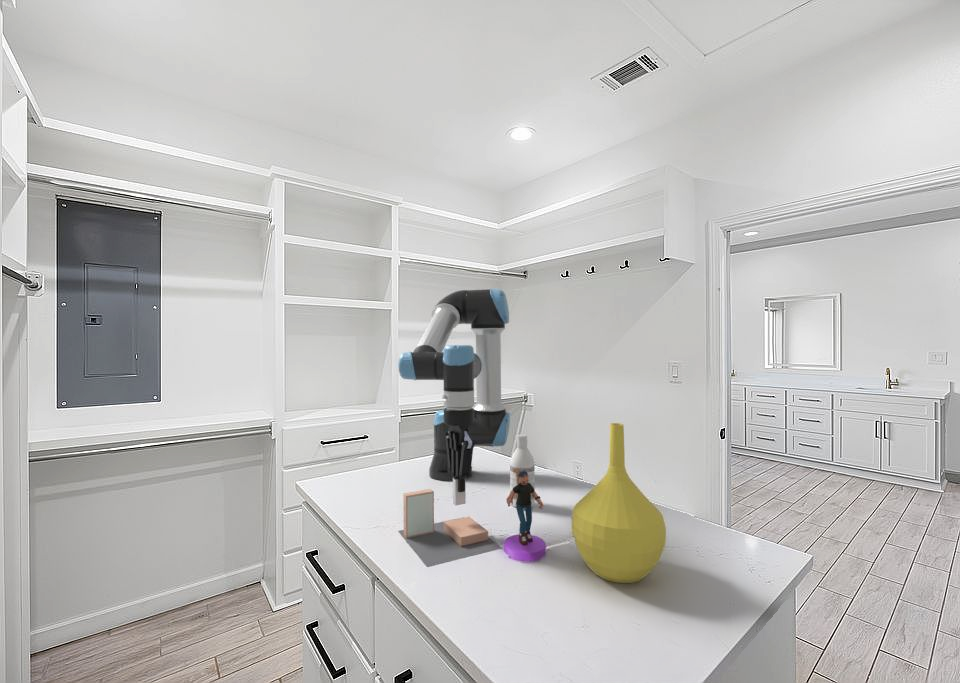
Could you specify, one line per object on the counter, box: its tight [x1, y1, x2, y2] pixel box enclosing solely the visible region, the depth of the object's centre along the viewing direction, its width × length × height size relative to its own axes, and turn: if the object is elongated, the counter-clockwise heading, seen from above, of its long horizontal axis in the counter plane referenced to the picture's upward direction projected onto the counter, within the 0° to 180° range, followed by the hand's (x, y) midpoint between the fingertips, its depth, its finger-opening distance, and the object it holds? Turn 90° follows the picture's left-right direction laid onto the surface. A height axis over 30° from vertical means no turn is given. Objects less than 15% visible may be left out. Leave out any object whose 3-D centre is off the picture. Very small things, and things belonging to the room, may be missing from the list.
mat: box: [397, 516, 503, 568], centre depth 105 cm, size 18×20×1 cm
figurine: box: [503, 471, 547, 563], centre depth 100 cm, size 9×9×18 cm
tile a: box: [443, 516, 489, 546], centre depth 107 cm, size 7×2×10 cm
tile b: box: [402, 488, 435, 538], centre depth 108 cm, size 7×2×10 cm, turn 118°
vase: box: [571, 422, 667, 584], centre depth 91 cm, size 18×18×30 cm
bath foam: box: [509, 433, 536, 510], centre depth 128 cm, size 7×7×20 cm
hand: (459, 503), depth 110 cm, fingers closed
